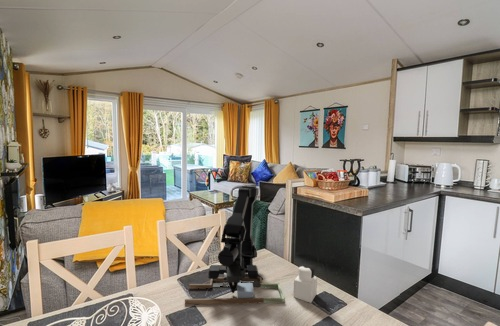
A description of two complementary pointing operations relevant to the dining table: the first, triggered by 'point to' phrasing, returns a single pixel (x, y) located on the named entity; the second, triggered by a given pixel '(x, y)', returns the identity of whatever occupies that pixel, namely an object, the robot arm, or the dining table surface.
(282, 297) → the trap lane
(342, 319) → the dining table surface
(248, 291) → the block
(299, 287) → the medicine bottle
